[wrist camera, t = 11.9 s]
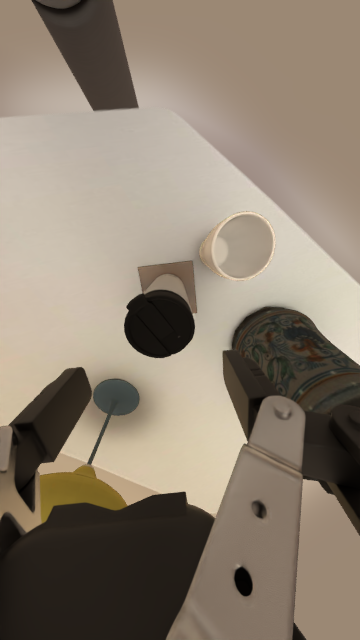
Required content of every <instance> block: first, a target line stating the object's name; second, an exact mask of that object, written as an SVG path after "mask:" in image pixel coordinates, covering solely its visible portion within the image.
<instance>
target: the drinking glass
mask: <svg viewBox="0 0 360 640" xmlns="http://www.w3.org/2000/svg"><path fill="white" fill-rule="evenodd" d="M274 250H275V234H274V231H273V228H272V226H271V224H270V223H269V222H268V220H267V219H266V218H264V217H263V216H262V215H260V214H258V213H255V212H248V211H246V212H239V213H236V214H233V215H232V216H230V217H228V218H226V219H224V220H223V221H221V222H220V223H219V224H218V225H216V226H215V227H214V228H213V230H212V231H211V232H210V233H209V235H208V236H207V238H206V239H205V240H204V241H203V243H202V244H201V247H200V251H199V254H200V258H201V261H202V262H203V263H204V264H205V265H206V266H208V267H209V268H210V269H211V270H212V271H213V272H214V273H216V274H217V275H219V276H221V277H224V278H227V279H230V280H235V281H244V280H248V279H251V278H253V277H255V276H257V275H258V274H260V273H261V272H262V271H263V270H264V269H265V268H266V267H267V266H268V264H269V263H270V261H271V259H272V257H273V254H274Z"/></svg>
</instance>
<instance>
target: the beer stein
mask: <svg viewBox="0 0 360 640" xmlns="http://www.w3.org/2000/svg"><path fill="white" fill-rule="evenodd" d="M232 348H233V350H235V349H237V350H238V352H239V353H240V355H241V356H242V358H244V357H248V358H250V359H252V360H253V361H255V362H256V363H257V364H258V366H259V367H260V368H261V370H262V371H263V372H264V374H265V375H266V376H267V377H268V379H269V380H270V381H271V383H272V384H273V385H274V387H275V388H276V389H277V391H278V392H279V393H280V395H281V396H282V397H286V398H288V399H291V400H292V401H294V402H296V403H297V404H298V405H299V406H300V407H301V408H302V409H303V410H305V411H309V412H315V413H322V414H328V415H331V413H332V409H333V408H334V407H335V406H338V405H352V406H356V407H359V408H360V366H359V365H358V364H357V363H356V362H354V361H353V360H352V359H351V358H349V357H348V356H347V355H346V354H344V353H343V352H342V351H341V350H339V349H338V348H337V347H336V346H334V345H333V344H332V343H331V342H330V341H329V340H328V339H326V338H325V337H324V336H323V335H322V333H321V332H320V331H319V330H318V329H317V328H316V326H315V324H314V323H313V322H312V321H311V320H310V319H309V318H308V317H307V316H306V315H304V314H302V313H300V312H298V311H295V310H290V309H285V308H276V307H264V308H262V309H260V310H259V311H257V312H255V313H253V314H251V315H250V316H248V317H246V318H245V320H244V321H243V322H242V323H241V324H240V326H239V327H238V328H237V329H236V331H235V334H234V339H233V343H232ZM303 479H307V480H314V481H319V483H320V484H321V486H322V487H323V488H324V490H325V491H326V492H327V493H330V494H333V495H334V493H333V492H332V490H331V488H330V487H329V485H328V483H327V482H326V481H323V480H319V479H315V478H311V477H307V476H303Z"/></svg>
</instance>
